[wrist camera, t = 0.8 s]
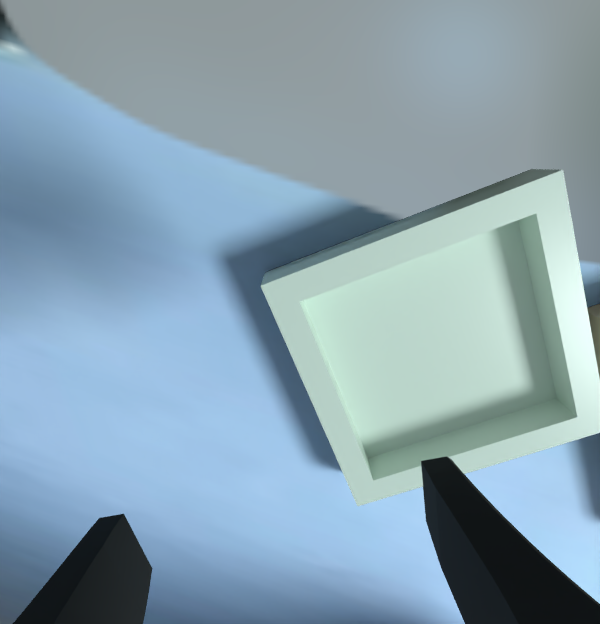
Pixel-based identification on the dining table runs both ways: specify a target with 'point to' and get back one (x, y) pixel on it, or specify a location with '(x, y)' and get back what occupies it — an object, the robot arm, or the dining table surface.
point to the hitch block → (595, 330)
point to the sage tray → (445, 336)
